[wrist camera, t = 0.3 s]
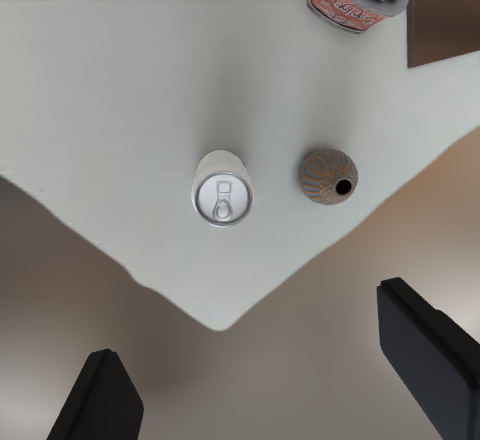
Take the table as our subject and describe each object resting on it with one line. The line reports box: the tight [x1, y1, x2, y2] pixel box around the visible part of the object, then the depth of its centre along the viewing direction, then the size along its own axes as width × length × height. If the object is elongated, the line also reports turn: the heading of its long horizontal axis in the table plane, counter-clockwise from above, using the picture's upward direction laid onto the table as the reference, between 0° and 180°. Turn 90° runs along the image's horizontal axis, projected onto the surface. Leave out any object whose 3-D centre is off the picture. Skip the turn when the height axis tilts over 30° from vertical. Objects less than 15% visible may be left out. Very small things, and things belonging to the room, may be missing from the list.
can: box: [191, 150, 255, 227], centre depth 33 cm, size 6×6×12 cm
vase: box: [298, 149, 358, 205], centre depth 36 cm, size 7×7×9 cm
